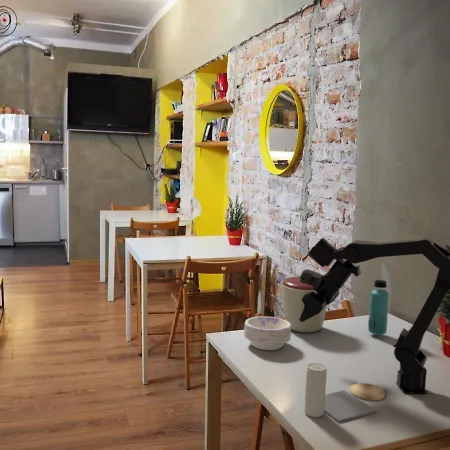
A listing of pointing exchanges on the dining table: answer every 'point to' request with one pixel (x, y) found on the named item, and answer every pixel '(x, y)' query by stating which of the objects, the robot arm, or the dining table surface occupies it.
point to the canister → (299, 306)
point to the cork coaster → (367, 391)
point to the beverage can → (315, 390)
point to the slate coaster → (345, 406)
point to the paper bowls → (267, 332)
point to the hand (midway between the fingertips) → (305, 316)
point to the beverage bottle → (378, 309)
